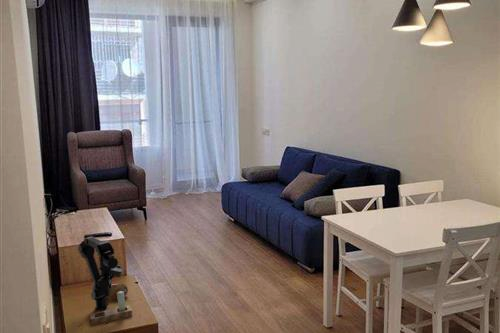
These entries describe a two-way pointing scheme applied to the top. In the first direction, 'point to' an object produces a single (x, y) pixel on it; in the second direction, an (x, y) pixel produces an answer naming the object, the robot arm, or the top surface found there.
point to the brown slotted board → (110, 315)
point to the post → (121, 301)
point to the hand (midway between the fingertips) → (108, 291)
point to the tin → (116, 290)
